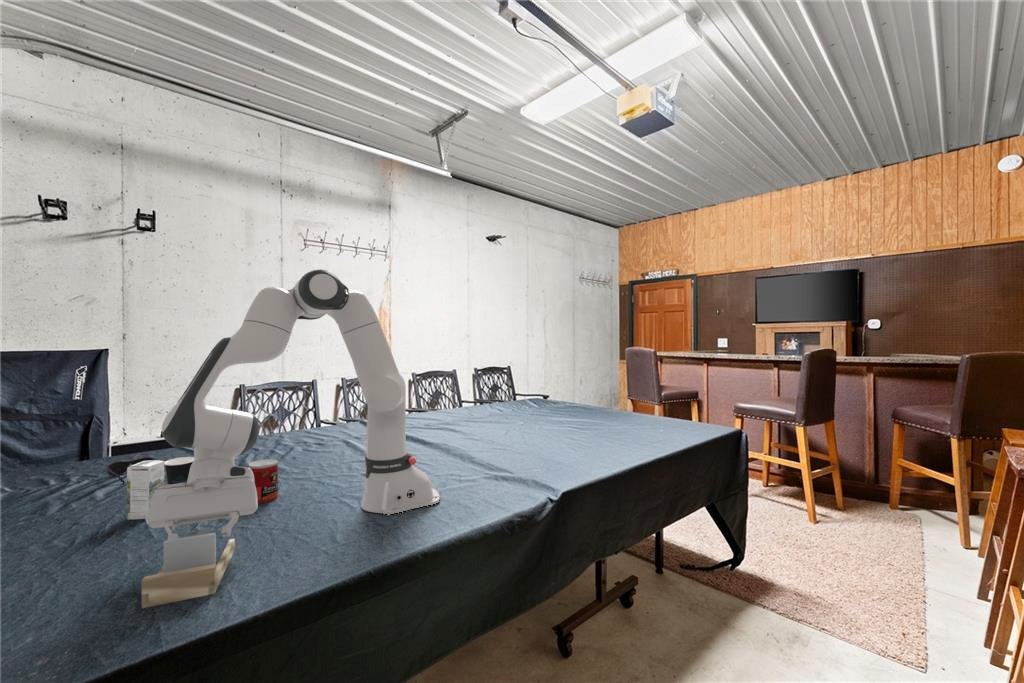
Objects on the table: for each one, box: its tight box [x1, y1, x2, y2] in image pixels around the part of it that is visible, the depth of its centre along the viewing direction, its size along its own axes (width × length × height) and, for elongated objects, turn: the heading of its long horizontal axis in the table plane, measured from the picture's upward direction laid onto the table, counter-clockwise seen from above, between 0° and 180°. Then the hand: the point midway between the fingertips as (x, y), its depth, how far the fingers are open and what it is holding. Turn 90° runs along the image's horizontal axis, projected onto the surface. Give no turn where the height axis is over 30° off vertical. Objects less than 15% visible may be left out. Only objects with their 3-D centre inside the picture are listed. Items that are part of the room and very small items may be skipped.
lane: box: [141, 538, 236, 609], centre depth 87 cm, size 18×11×5 cm, turn 23°
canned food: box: [247, 458, 279, 504], centre depth 129 cm, size 8×8×11 cm
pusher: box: [162, 532, 217, 573], centre depth 85 cm, size 1×8×8 cm, turn 113°
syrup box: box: [126, 459, 165, 520], centre depth 117 cm, size 6×6×14 cm
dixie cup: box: [164, 456, 194, 485], centre depth 131 cm, size 8×8×11 cm
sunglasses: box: [106, 456, 158, 484], centre depth 150 cm, size 14×16×5 cm
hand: (199, 539), depth 90 cm, fingers open, 8 cm apart
